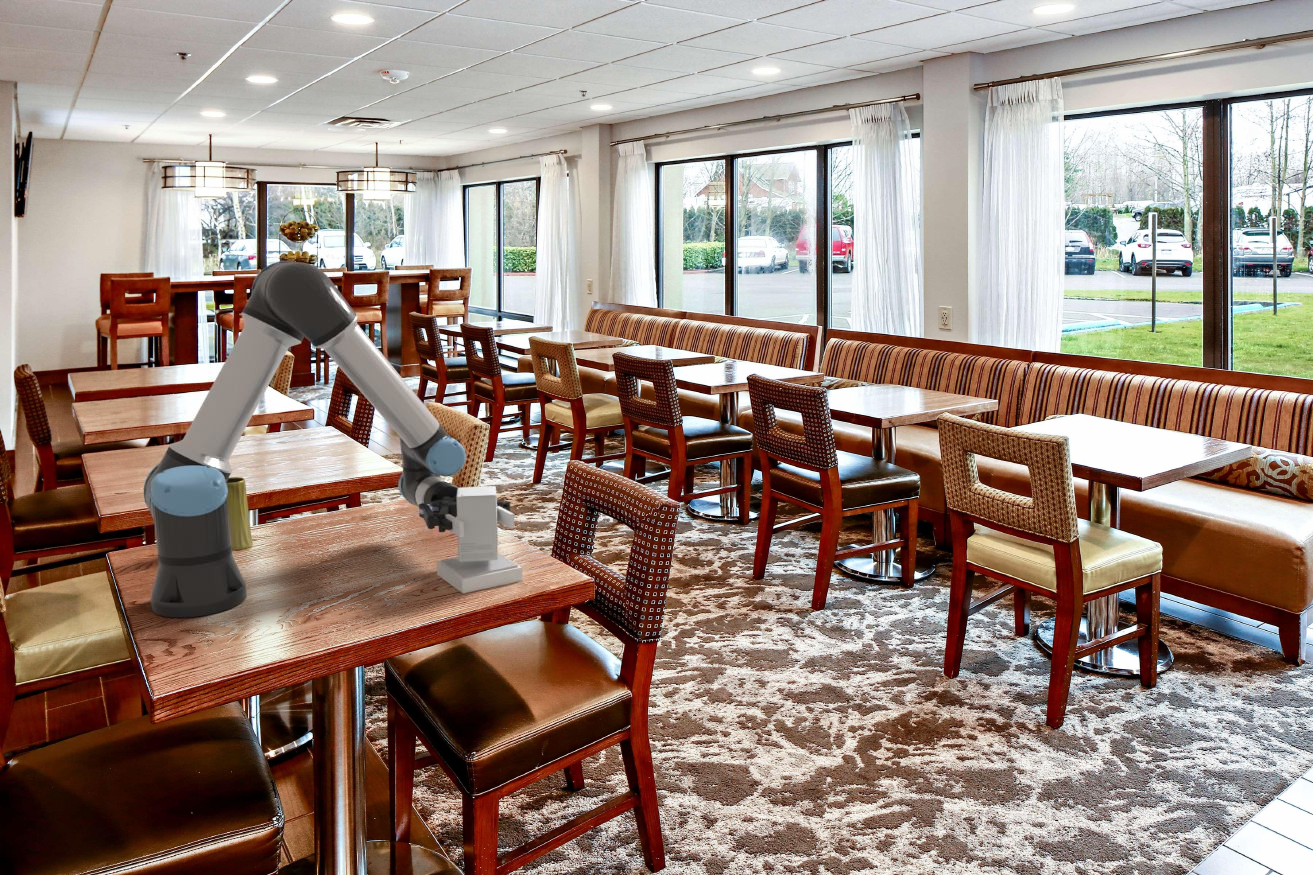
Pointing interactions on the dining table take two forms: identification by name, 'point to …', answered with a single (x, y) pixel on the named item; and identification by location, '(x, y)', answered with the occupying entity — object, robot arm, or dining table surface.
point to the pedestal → (479, 573)
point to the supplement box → (478, 523)
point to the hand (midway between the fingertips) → (487, 525)
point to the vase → (238, 514)
